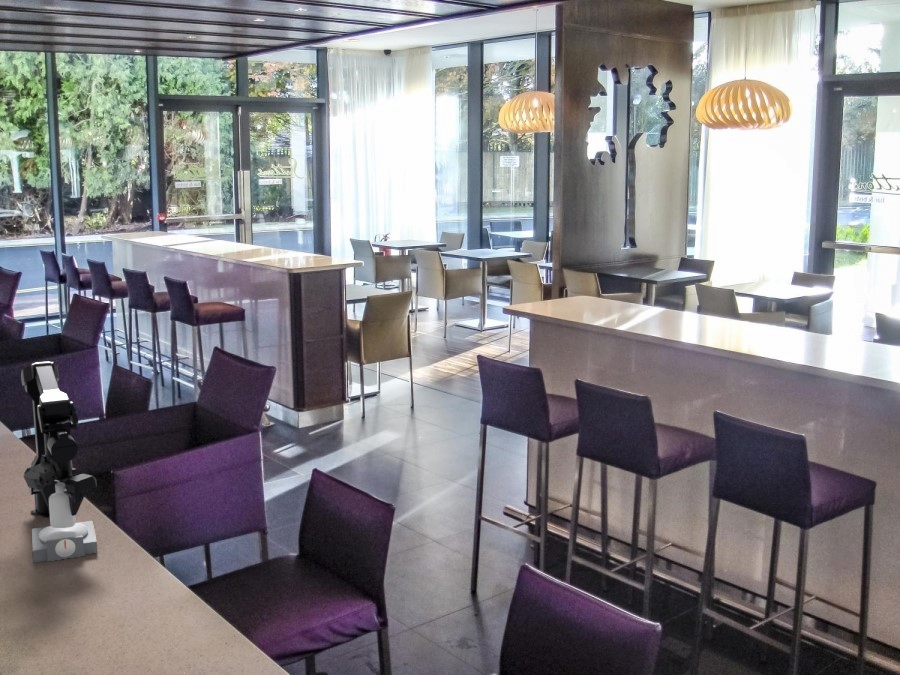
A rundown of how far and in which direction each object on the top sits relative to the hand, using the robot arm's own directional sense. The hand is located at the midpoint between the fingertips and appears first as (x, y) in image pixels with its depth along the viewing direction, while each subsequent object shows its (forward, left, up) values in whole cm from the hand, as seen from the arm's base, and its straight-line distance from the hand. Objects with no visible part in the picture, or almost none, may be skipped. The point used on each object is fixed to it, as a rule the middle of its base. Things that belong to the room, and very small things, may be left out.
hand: (62, 511), depth 225 cm
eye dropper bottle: (0, 0, -4) cm, 4 cm away
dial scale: (0, 0, -9) cm, 9 cm away
